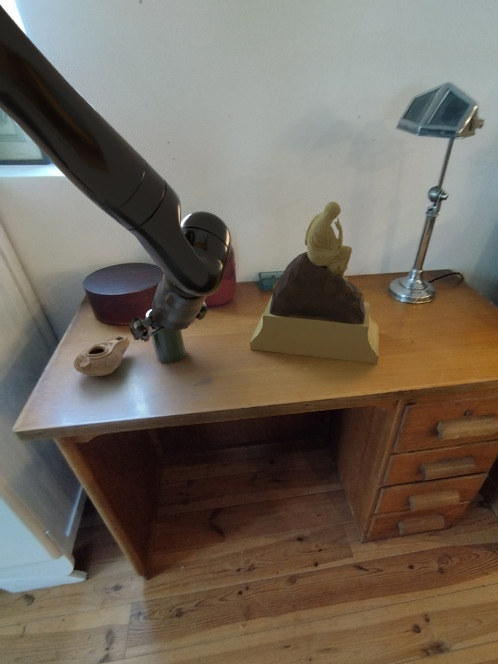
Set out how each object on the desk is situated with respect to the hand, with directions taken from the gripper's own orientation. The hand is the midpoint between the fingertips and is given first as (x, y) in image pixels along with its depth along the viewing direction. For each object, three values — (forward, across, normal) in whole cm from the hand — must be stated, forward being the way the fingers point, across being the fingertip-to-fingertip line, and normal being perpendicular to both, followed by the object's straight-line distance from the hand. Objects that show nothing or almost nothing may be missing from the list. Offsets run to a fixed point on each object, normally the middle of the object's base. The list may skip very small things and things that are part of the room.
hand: (164, 330), depth 79 cm
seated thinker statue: (-6, -29, +15) cm, 33 cm away
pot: (+4, 0, +4) cm, 6 cm away
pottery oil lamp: (+6, +12, +2) cm, 13 cm away
